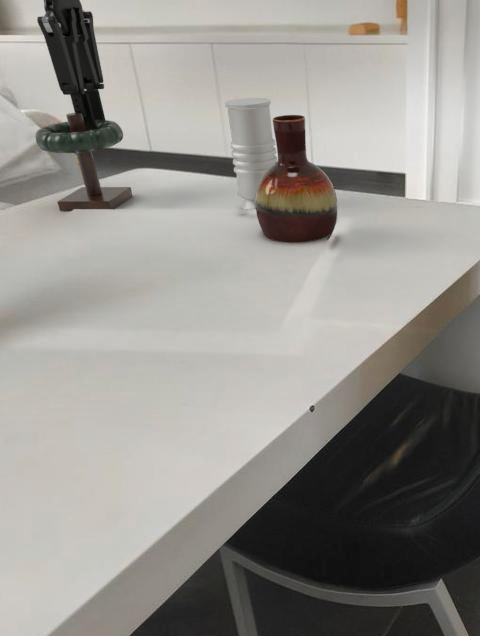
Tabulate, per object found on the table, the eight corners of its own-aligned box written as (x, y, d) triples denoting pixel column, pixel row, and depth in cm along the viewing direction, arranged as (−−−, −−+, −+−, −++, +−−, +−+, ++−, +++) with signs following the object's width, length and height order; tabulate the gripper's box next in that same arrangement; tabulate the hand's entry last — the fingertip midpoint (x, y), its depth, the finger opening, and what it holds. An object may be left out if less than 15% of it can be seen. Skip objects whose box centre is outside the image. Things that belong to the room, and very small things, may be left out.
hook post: (59, 210, 113) (32, 119, 104) (84, 196, 120) (60, 109, 112) (111, 210, 112) (88, 118, 103) (132, 195, 119) (113, 108, 110)
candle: (287, 201, 112) (277, 97, 103) (273, 213, 107) (261, 105, 98) (248, 199, 114) (235, 97, 105) (232, 211, 108) (216, 105, 99)
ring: (23, 155, 106) (16, 135, 104) (63, 137, 116) (58, 118, 115) (103, 154, 104) (98, 134, 103) (136, 136, 115) (132, 117, 113)
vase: (266, 229, 100) (252, 111, 91) (341, 227, 100) (335, 108, 91) (254, 255, 92) (237, 127, 82) (336, 253, 91) (328, 124, 82)
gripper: (48, -42, 93) (95, 146, 107) (100, -41, 106) (135, 127, 120) (-2, -39, 94) (50, 147, 108) (54, -39, 107) (95, 127, 121)
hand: (95, 136), depth 114 cm, fingers closed on ring, 3 cm apart
